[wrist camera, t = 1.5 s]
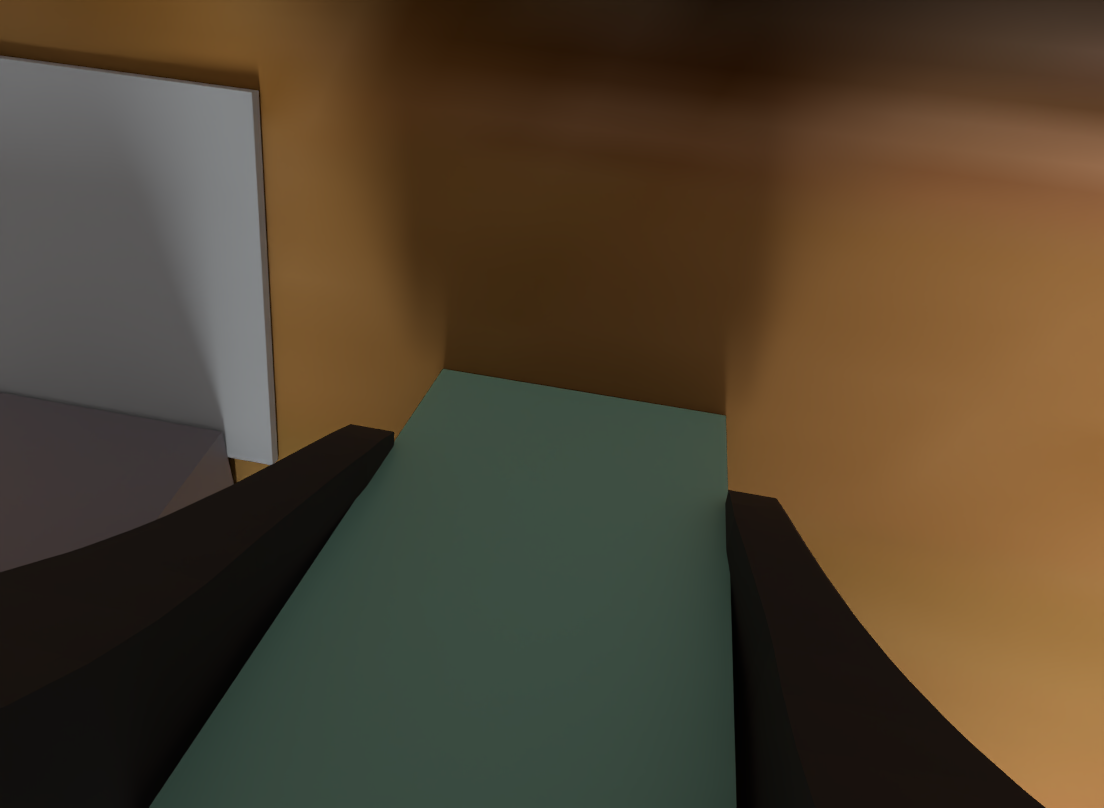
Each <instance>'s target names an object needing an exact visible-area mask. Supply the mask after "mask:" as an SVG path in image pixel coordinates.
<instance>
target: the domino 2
mask: <svg viewBox="0 0 1104 808" xmlns="http://www.w3.org/2000/svg"><path fill="white" fill-rule="evenodd" d="M727 494H728V476H727V439H726V416H725V415H719V414H713V413H707V412H701V411H695V410H689V409H683V408H677V407H670V406H664V405H658V404H652V403H646V402H640V401H634V400H628V399H622V398H616V397H610V396H604V395H598V394H592V393H586V392H580V391H574V390H568V389H562V388H556V387H550V386H544V385H538V384H532V383H526V382H520V381H514V380H508V379H501V378H495V377H489V376H483V375H477V374H471V373H465V372H459V371H453V370H447V369H443V370H442V371H441V373H440V374H439V376H438V377H437V379H436V380H435V382H434V383H433V385H432V386H431V388H430V389H429V391H428V392H427V393H426V395H425V396H424V398H423V399H422V401H421V402H420V404H419V405H418V407H417V408H416V410H415V411H414V413H413V414H412V416H411V417H410V419H409V420H408V422H407V423H406V425H405V426H404V428H403V429H402V431H401V432H400V434H399V435H398V437H397V438H396V440H395V441H394V446H393V448H392V449H391V451H390V452H389V454H388V455H387V457H386V458H385V460H384V461H383V463H382V464H381V466H380V467H379V469H378V470H377V472H376V473H375V475H374V476H373V478H372V479H371V481H370V482H369V484H368V485H367V487H366V488H365V489H364V490H363V491H362V493H361V494H360V495H359V496H358V497H357V498H356V500H355V501H354V502H353V504H352V505H351V507H350V508H349V510H348V511H347V513H346V514H345V516H344V517H343V519H342V520H341V522H340V523H339V525H338V526H337V528H336V529H335V531H334V532H333V534H332V535H331V537H330V538H329V540H328V541H327V543H326V544H325V546H324V547H323V549H322V550H321V552H320V553H319V555H318V556H317V558H316V559H315V561H314V562H313V564H312V565H311V567H310V568H309V570H308V571H307V573H306V574H305V576H304V577H303V579H302V580H301V582H300V583H299V585H298V586H297V587H296V589H295V590H294V592H293V593H292V595H291V596H290V598H289V599H288V601H287V602H286V604H285V605H284V607H283V608H282V610H281V611H280V613H279V614H278V616H277V617H276V619H275V620H274V622H273V623H272V625H271V626H270V628H269V629H268V631H267V632H266V634H265V635H264V637H263V638H262V640H261V641H260V643H259V644H258V646H257V647H256V649H255V650H254V652H253V653H252V655H251V656H250V658H249V659H248V661H247V662H246V664H245V665H244V667H243V668H242V670H241V671H240V673H239V674H238V676H237V677H236V679H235V680H234V682H233V683H232V684H231V686H230V687H229V689H228V690H227V692H226V693H225V695H224V696H223V698H222V699H221V701H220V702H219V704H218V705H217V707H216V708H215V710H214V711H213V713H212V714H211V716H210V717H209V719H208V720H207V722H206V723H205V725H204V726H203V728H202V729H201V731H200V732H199V734H198V735H197V737H196V738H195V740H194V741H193V743H192V744H191V746H190V747H189V749H188V750H187V752H186V753H185V755H184V756H183V758H182V759H181V761H180V762H179V764H178V765H177V767H176V768H175V770H174V771H173V773H172V774H171V776H170V777H169V778H168V780H167V781H166V783H165V784H164V786H163V787H162V789H161V790H160V792H159V793H158V795H157V796H156V798H155V799H154V801H153V802H152V804H151V805H150V807H149V808H737V805H736V768H735V732H734V695H733V658H732V622H731V585H730V571H729V565H728V559H727V553H726V516H725V503H726V499H727Z"/></svg>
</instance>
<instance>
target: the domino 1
mask: <svg viewBox="0 0 1104 808" xmlns="http://www.w3.org/2000/svg"><path fill="white" fill-rule="evenodd" d="M233 484H234V482H233V478H232V474H231V469H230V465H229V461H228V456H227V452H226V447H225V443H224V439H223V434H222V432H220V431H214V430H209V429H203V428H197V427H192V426H186V425H180V424H175V423H169V422H163V421H158V420H152V419H147V418H141V417H135V416H130V415H124V414H118V413H113V412H107V411H101V410H96V409H90V408H84V407H79V406H73V405H67V404H62V403H56V402H50V401H45V400H39V399H34V398H28V397H22V396H17V395H11V394H5V393H0V572H3V571H6V570H9V569H13V568H16V567H20V566H23V565H26V564H30V563H33V562H37V561H40V560H43V559H47V558H50V557H54V556H57V555H61V554H64V553H67V552H70V551H73V550H76V549H79V548H82V547H85V546H88V545H91V544H94V543H96V542H99V541H102V540H105V539H108V538H110V537H113V536H116V535H119V534H121V533H124V532H127V531H129V530H132V529H134V528H137V527H140V526H142V525H145V524H147V523H150V522H152V521H154V520H157V519H159V518H162V517H164V516H166V515H169V514H171V513H173V512H175V511H177V510H179V509H182V508H184V507H186V506H188V505H190V504H192V503H195V502H197V501H199V500H201V499H203V498H205V497H207V496H210V495H212V494H214V493H216V492H218V491H220V490H222V489H225V488H227V487H229V486H231V485H233Z"/></svg>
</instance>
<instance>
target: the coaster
mask: <svg viewBox="0 0 1104 808" xmlns="http://www.w3.org/2000/svg"><path fill="white" fill-rule="evenodd" d="M0 393H5V394H11V395H17V396H22V397H28V398H34V399H39V400H45V401H50V402H56V403H62V404H67V405H73V406H79V407H84V408H90V409H96V410H101V411H107V412H113V413H118V414H124V415H130V416H135V417H141V418H147V419H152V420H158V421H163V422H169V423H175V424H180V425H186V426H192V427H197V428H203V429H209V430H214V431H220V432H222V434H223V439H224V443H225V447H226V452H227V456H228V457H230V458H235V459H241V460H246V461H252V462H257V463H263V464H268V465H272V464H274V463H275V462H276V461H277V460H278V451H277V432H276V413H275V394H274V375H273V356H272V337H271V318H270V299H269V280H268V261H267V242H266V222H265V203H264V184H263V165H262V146H261V127H260V108H259V91H258V90H251V89H244V88H236V87H229V86H221V85H214V84H207V83H199V82H192V81H185V80H177V79H170V78H162V77H155V76H148V75H140V74H133V73H126V72H118V71H111V70H103V69H96V68H89V67H81V66H74V65H66V64H59V63H52V62H44V61H37V60H30V59H22V58H15V57H7V56H0Z"/></svg>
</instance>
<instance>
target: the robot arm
mask: <svg viewBox="0 0 1104 808" xmlns="http://www.w3.org/2000/svg"><path fill="white" fill-rule="evenodd" d="M393 446H394V432H392V431H386V430H380V429H374V428H369V427H363V426H357V425H351V424H350V425H348V426H346V427H344V428H341V429H339V430H337V431H335V432H333V433H331V434H329V435H327V436H325V437H323V438H321V439H319V440H317V441H315V442H314V443H312V444H310V445H308V446H306V447H304V448H302V449H300V450H299V451H297V452H295V453H293V454H291V455H289V456H287V457H285V458H284V459H282V460H280V461H278V462H276V463H274V464H272V465H270V466H268V467H266V468H264V469H262V470H261V471H259V472H257V473H255V474H253V475H251V476H249V477H247V478H245V479H243V480H241V481H239V482H237V483H235V484H233V485H231V486H229V487H227V488H225V489H222V490H220V491H218V492H216V493H214V494H212V495H210V496H207V497H205V498H203V499H201V500H199V501H197V502H195V503H192V504H190V505H188V506H186V507H184V508H182V509H179V510H177V511H175V512H173V513H171V514H169V515H166V516H164V517H162V518H159V519H157V520H154V521H152V522H150V523H147V524H145V525H142V526H140V527H137V528H134V529H132V530H129V531H127V532H124V533H121V534H119V535H116V536H113V537H110V538H108V539H105V540H102V541H99V542H96V543H94V544H91V545H88V546H85V547H82V548H79V549H76V550H73V551H70V552H67V553H64V554H61V555H57V556H54V557H50V558H47V559H43V560H40V561H37V562H33V563H30V564H26V565H23V566H20V567H16V568H13V569H9V570H6V571H3V572H0V808H149V807H150V805H151V804H152V802H153V801H154V799H155V798H156V796H157V795H158V793H159V792H160V790H161V789H162V787H163V786H164V784H165V783H166V781H167V780H168V778H169V777H170V776H171V774H172V773H173V771H174V770H175V768H176V767H177V765H178V764H179V762H180V761H181V759H182V758H183V756H184V755H185V753H186V752H187V750H188V749H189V747H190V746H191V744H192V743H193V741H194V740H195V738H196V737H197V735H198V734H199V732H200V731H201V729H202V728H203V726H204V725H205V723H206V722H207V720H208V719H209V717H210V716H211V714H212V713H213V711H214V710H215V708H216V707H217V705H218V704H219V702H220V701H221V699H222V698H223V696H224V695H225V693H226V692H227V690H228V689H229V687H230V686H231V684H232V683H233V682H234V680H235V679H236V677H237V676H238V674H239V673H240V671H241V670H242V668H243V667H244V665H245V664H246V662H247V661H248V659H249V658H250V656H251V655H252V653H253V652H254V650H255V649H256V647H257V646H258V644H259V643H260V641H261V640H262V638H263V637H264V635H265V634H266V632H267V631H268V629H269V628H270V626H271V625H272V623H273V622H274V620H275V619H276V617H277V616H278V614H279V613H280V611H281V610H282V608H283V607H284V605H285V604H286V602H287V601H288V599H289V598H290V596H291V595H292V593H293V592H294V590H295V589H296V587H297V586H298V585H299V583H300V582H301V580H302V579H303V577H304V576H305V574H306V573H307V571H308V570H309V568H310V567H311V565H312V564H313V562H314V561H315V559H316V558H317V556H318V555H319V553H320V552H321V550H322V549H323V547H324V546H325V544H326V543H327V541H328V540H329V538H330V537H331V535H332V534H333V532H334V531H335V529H336V528H337V526H338V525H339V523H340V522H341V520H342V519H343V517H344V516H345V514H346V513H347V511H348V510H349V508H350V507H351V505H352V504H353V502H354V501H355V500H356V498H357V497H358V496H359V495H360V494H361V493H362V491H363V490H364V489H365V488H366V487H367V485H368V484H369V482H370V481H371V479H372V478H373V476H374V475H375V473H376V472H377V470H378V469H379V467H380V466H381V464H382V463H383V461H384V460H385V458H386V457H387V455H388V454H389V452H390V451H391V449H392V448H393ZM725 516H726V553H727V559H728V565H729V571H730V585H731V622H732V658H733V695H734V732H735V768H736V805H737V808H1045V807H1044V806H1043V805H1041V804H1040V803H1039V802H1038V801H1037V800H1035V799H1034V798H1033V797H1032V796H1030V795H1029V794H1028V793H1027V792H1026V791H1024V790H1023V789H1022V788H1021V787H1020V786H1019V785H1018V784H1016V783H1015V782H1014V781H1013V780H1012V779H1011V778H1010V777H1009V776H1007V775H1006V774H1005V773H1004V772H1003V771H1002V770H1001V769H999V768H998V767H997V766H996V765H995V764H994V763H993V762H992V761H990V760H989V759H988V758H987V757H986V756H985V755H984V754H983V753H981V752H980V751H979V750H978V749H977V748H976V747H975V746H974V745H973V744H972V743H970V742H969V741H968V740H967V739H966V738H965V737H964V736H963V735H962V734H961V733H960V732H959V731H958V730H957V729H956V728H955V727H954V726H953V725H952V724H951V723H950V722H949V721H947V720H946V718H945V717H944V716H943V715H942V714H941V713H940V712H939V711H938V710H937V709H936V708H935V707H934V706H933V705H932V704H931V703H930V702H929V701H928V700H927V699H926V698H925V697H924V696H923V695H922V694H921V693H920V691H919V690H918V689H917V688H916V687H915V686H914V685H913V684H912V683H911V682H910V681H909V680H908V679H907V678H906V677H905V676H904V674H903V673H902V672H901V671H900V670H899V669H898V668H897V667H896V665H895V664H894V663H893V662H892V661H891V660H890V659H889V657H888V656H887V655H886V654H885V653H884V651H883V650H882V649H881V648H880V646H879V645H878V644H877V643H876V642H875V640H874V639H873V638H872V637H871V635H870V634H869V633H868V632H867V631H866V629H865V628H864V627H863V626H862V624H861V623H860V622H859V621H858V619H857V618H856V617H855V615H854V614H853V613H852V611H851V610H850V609H849V607H848V606H847V604H846V603H845V601H844V600H843V599H842V597H841V596H840V594H839V593H838V592H837V590H836V589H835V587H834V586H833V585H832V583H831V582H830V580H829V579H828V578H827V576H826V575H825V573H824V572H823V570H822V569H821V567H820V566H819V564H818V563H817V561H816V560H815V558H814V556H813V555H812V553H811V552H810V550H809V549H808V547H807V546H806V544H805V542H804V541H803V539H802V538H801V536H800V534H799V533H798V531H797V530H796V528H795V526H794V525H793V523H792V522H791V520H790V518H789V517H788V515H787V514H786V512H785V510H784V509H783V507H782V506H781V504H780V503H779V502H778V500H777V499H776V498H771V497H765V496H759V495H754V494H748V493H742V492H736V491H731V490H728V494H727V499H726V503H725Z"/></svg>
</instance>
